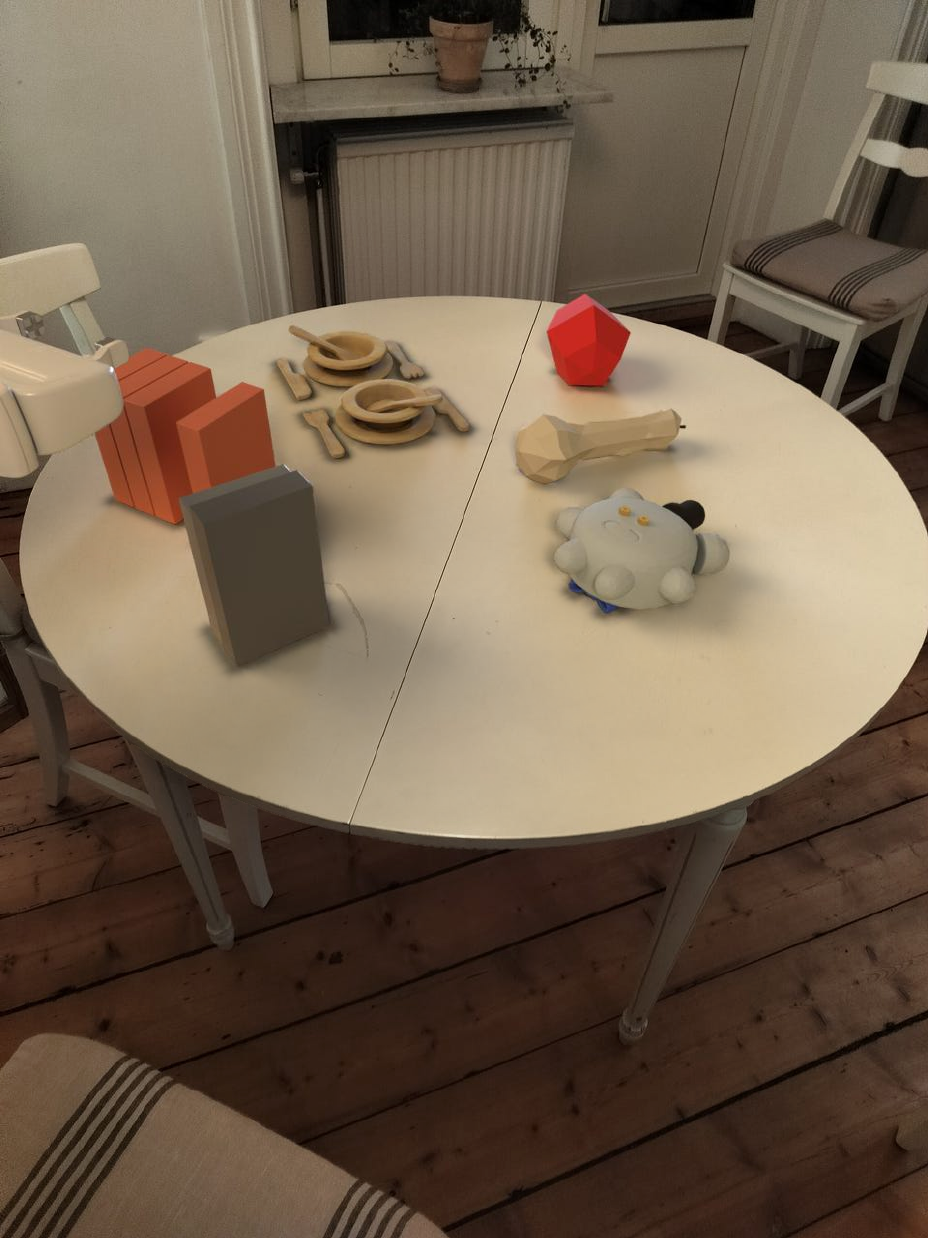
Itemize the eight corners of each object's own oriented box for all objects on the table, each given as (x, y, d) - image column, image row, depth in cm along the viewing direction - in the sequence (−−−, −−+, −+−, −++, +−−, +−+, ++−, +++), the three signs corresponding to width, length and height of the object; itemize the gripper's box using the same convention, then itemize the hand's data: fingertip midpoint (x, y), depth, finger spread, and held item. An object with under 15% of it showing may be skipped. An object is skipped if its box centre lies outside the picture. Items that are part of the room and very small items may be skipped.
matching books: (175, 524, 95) (144, 406, 85) (115, 500, 98) (78, 383, 88) (233, 482, 101) (210, 367, 91) (175, 460, 105) (147, 347, 94)
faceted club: (495, 456, 106) (657, 425, 114) (524, 506, 102) (688, 470, 111) (511, 403, 98) (682, 375, 107) (542, 455, 94) (717, 422, 103)
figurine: (639, 655, 81) (746, 583, 93) (661, 585, 76) (771, 518, 87) (512, 570, 90) (624, 514, 102) (523, 502, 85) (640, 451, 96)
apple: (541, 400, 121) (533, 335, 129) (623, 405, 122) (610, 340, 130) (557, 331, 111) (547, 265, 119) (645, 337, 112) (630, 271, 121)
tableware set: (472, 432, 111) (473, 391, 107) (331, 462, 105) (327, 420, 101) (393, 340, 131) (391, 303, 127) (270, 361, 125) (265, 323, 121)
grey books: (236, 667, 79) (203, 523, 68) (211, 630, 83) (175, 488, 71) (329, 626, 84) (313, 485, 72) (302, 593, 87) (281, 453, 75)
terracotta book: (224, 549, 92) (198, 430, 82) (204, 541, 93) (175, 422, 83) (281, 504, 98) (264, 388, 88) (261, 496, 99) (242, 381, 89)
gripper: (-146, 407, 64) (4, 340, 73) (39, 485, 57) (180, 401, 66) (-188, 329, 60) (-23, 267, 69) (7, 403, 53) (162, 324, 62)
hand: (78, 333), depth 67 cm, fingers open, 8 cm apart
